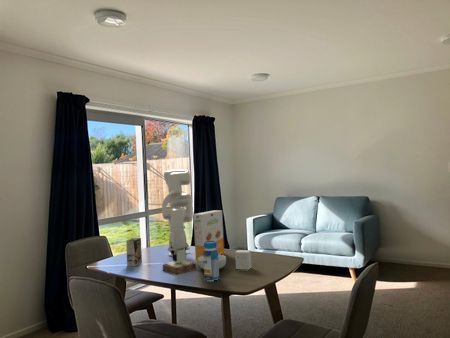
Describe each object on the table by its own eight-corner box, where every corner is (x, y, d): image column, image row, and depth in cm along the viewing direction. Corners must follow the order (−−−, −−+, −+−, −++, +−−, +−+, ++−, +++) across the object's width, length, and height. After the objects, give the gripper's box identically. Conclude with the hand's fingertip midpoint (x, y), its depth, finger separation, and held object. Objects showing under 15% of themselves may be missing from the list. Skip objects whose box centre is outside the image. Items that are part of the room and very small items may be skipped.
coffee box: (136, 266, 230) (135, 240, 230) (126, 266, 231) (125, 240, 231) (142, 262, 239) (141, 237, 239) (133, 262, 240) (132, 237, 240)
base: (182, 265, 227) (181, 258, 227) (195, 269, 216) (195, 262, 216) (162, 270, 218) (162, 263, 218) (176, 274, 207) (175, 267, 207)
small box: (251, 268, 213) (250, 250, 213) (249, 270, 208) (248, 252, 208) (238, 267, 216) (237, 249, 216) (235, 270, 211) (234, 251, 211)
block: (180, 260, 221) (179, 248, 221) (185, 261, 217) (184, 249, 217) (173, 261, 217) (172, 249, 217) (178, 263, 214) (177, 251, 214)
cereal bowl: (194, 268, 220) (194, 256, 220) (220, 264, 225) (220, 252, 225) (203, 275, 204) (202, 262, 204) (230, 271, 209) (230, 258, 210)
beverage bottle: (220, 281, 191) (218, 242, 191) (204, 282, 190) (202, 243, 190) (219, 276, 199) (217, 239, 199) (203, 277, 199) (201, 240, 199)
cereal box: (216, 253, 257) (214, 210, 257) (223, 253, 253) (222, 210, 253) (195, 260, 239) (193, 214, 239) (203, 261, 235) (200, 214, 235)
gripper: (185, 226, 226) (186, 256, 226) (161, 230, 214) (163, 261, 214) (192, 227, 220) (194, 258, 220) (168, 232, 209) (170, 264, 209)
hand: (178, 259), depth 217 cm, fingers closed on block, 4 cm apart
